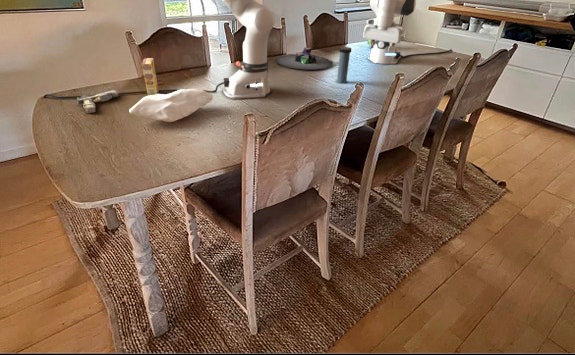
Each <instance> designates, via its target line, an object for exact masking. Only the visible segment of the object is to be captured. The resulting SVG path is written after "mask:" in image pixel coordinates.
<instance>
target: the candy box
mask: <svg viewBox="0 0 575 355" xmlns="http://www.w3.org/2000/svg"><path fill="white" fill-rule="evenodd" d="M141 66H142V73H143V78H144V82H145V87H146V91H147V93H146V94H147V96H150V95H156V94H159V93H160V92H159V91H158V90H159V84H158V79H157V73H156V66H155V62H154V58H153V57H151V58H150V57H149V58H146V57H145V58H143V60H142V63H141Z"/></svg>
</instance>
